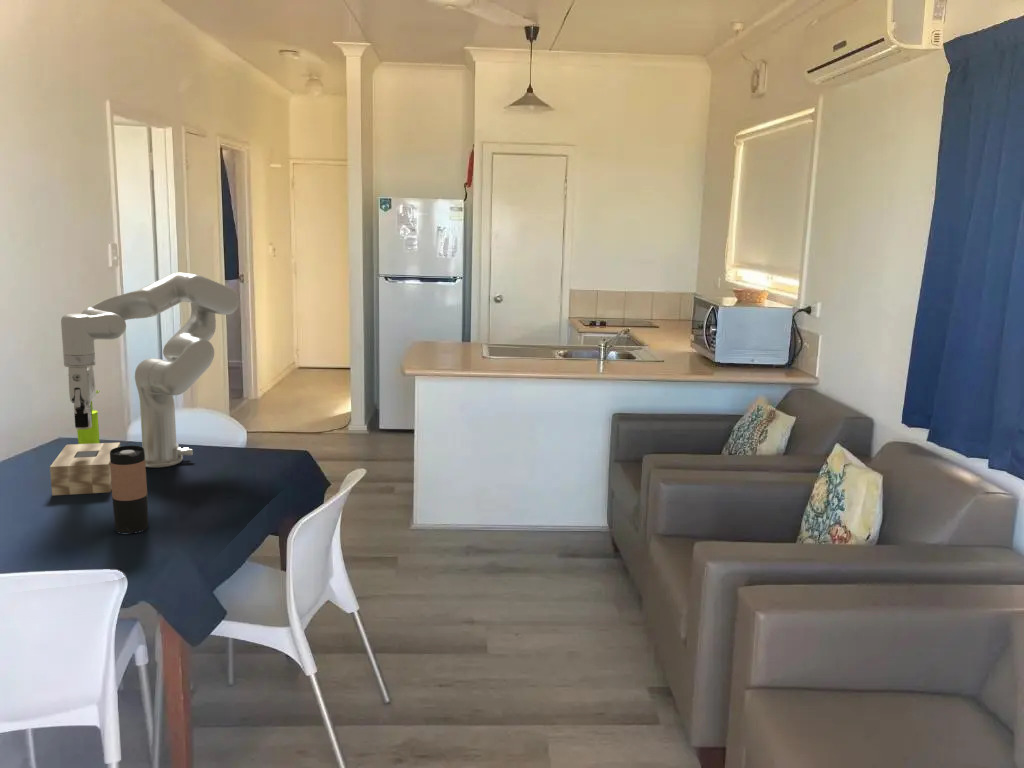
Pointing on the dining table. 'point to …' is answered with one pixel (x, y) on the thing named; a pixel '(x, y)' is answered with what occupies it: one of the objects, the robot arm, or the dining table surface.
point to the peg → (88, 410)
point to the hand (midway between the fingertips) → (83, 424)
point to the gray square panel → (87, 454)
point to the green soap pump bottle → (90, 430)
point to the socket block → (82, 470)
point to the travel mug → (129, 488)
